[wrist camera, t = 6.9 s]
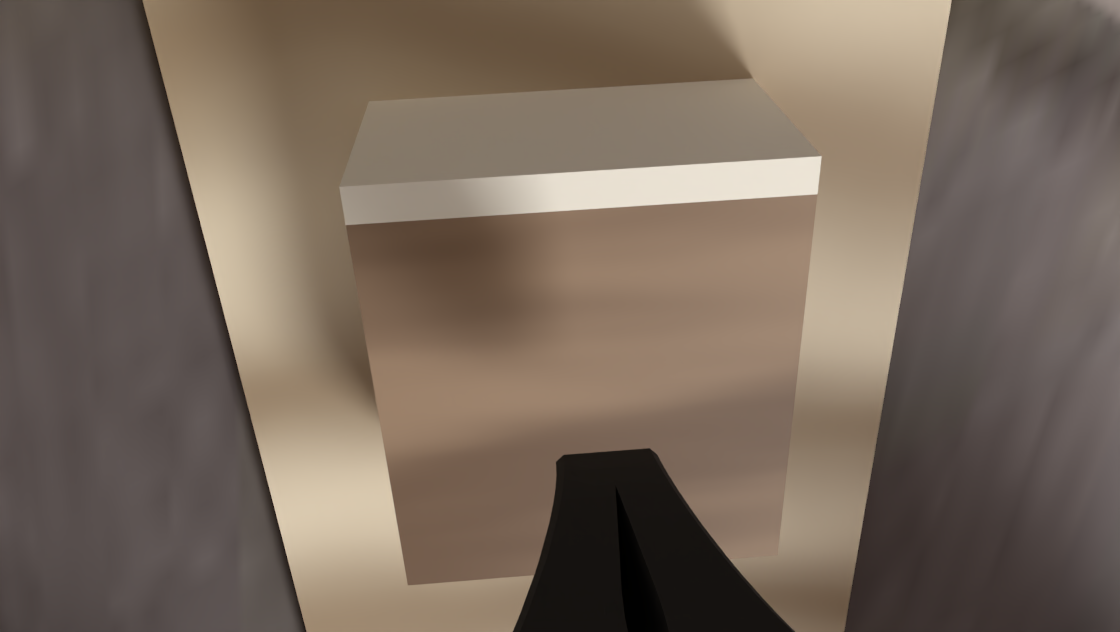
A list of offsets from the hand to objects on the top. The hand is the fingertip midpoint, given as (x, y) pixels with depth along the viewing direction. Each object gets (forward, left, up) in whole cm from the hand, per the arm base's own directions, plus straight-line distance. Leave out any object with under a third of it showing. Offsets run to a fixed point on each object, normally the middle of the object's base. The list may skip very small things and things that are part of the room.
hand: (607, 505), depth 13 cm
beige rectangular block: (-4, 0, -5) cm, 6 cm away
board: (-3, 0, -7) cm, 8 cm away
